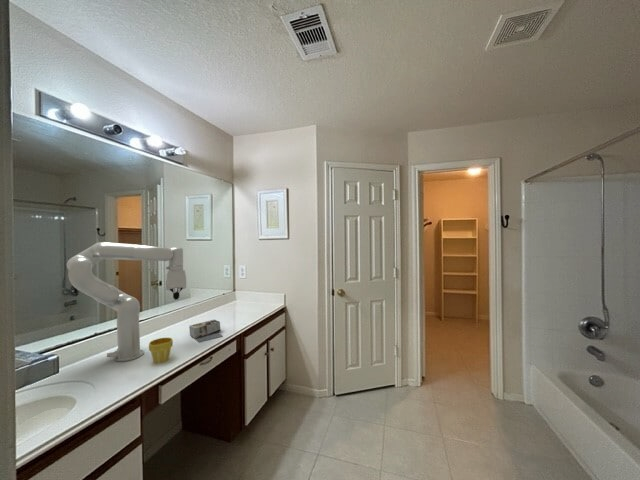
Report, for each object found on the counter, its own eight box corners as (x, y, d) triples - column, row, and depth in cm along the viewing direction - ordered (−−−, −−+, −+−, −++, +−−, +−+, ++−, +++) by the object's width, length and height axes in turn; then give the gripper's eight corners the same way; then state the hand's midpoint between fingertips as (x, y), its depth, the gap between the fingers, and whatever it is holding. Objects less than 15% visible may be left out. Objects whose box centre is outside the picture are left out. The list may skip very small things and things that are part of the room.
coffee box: (195, 338, 163) (220, 331, 174) (194, 328, 163) (220, 321, 174) (189, 335, 169) (214, 328, 180) (189, 325, 169) (214, 319, 180)
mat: (199, 342, 158) (199, 341, 158) (190, 333, 173) (189, 333, 173) (222, 336, 167) (222, 335, 167) (212, 328, 182) (212, 327, 182)
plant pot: (177, 358, 138) (176, 339, 138) (156, 366, 129) (156, 346, 129) (165, 354, 143) (165, 335, 143) (145, 362, 134) (144, 342, 134)
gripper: (162, 269, 152) (163, 302, 152) (191, 267, 161) (191, 298, 161) (160, 268, 158) (160, 300, 157) (188, 267, 167) (188, 296, 167)
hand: (176, 299), depth 159 cm, fingers closed
